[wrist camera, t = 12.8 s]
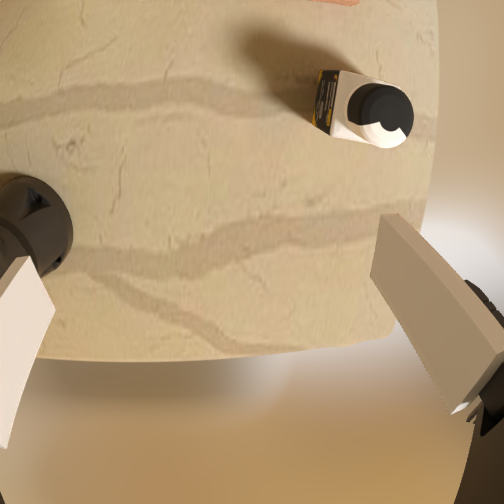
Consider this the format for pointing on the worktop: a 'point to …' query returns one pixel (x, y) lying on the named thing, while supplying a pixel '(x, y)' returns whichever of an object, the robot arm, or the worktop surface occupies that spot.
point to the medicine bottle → (362, 109)
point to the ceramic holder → (341, 2)
